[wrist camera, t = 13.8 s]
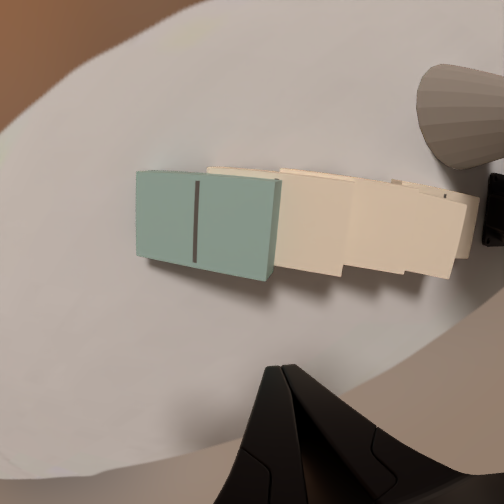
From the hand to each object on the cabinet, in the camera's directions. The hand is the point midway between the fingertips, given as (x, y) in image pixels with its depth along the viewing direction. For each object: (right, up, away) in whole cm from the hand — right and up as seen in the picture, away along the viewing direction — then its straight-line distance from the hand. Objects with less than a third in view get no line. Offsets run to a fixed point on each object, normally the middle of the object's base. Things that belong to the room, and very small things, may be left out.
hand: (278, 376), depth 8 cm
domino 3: (+1, +6, +11) cm, 12 cm away
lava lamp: (+15, +14, +11) cm, 23 cm away
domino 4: (+5, +6, +11) cm, 13 cm away
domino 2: (-3, +6, +10) cm, 12 cm away
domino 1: (-7, +6, +10) cm, 13 cm away
